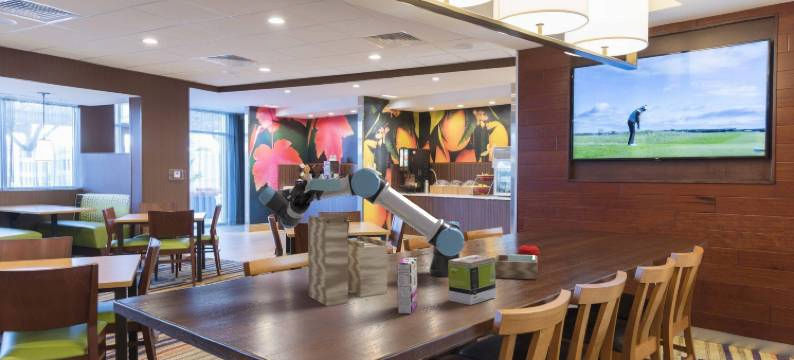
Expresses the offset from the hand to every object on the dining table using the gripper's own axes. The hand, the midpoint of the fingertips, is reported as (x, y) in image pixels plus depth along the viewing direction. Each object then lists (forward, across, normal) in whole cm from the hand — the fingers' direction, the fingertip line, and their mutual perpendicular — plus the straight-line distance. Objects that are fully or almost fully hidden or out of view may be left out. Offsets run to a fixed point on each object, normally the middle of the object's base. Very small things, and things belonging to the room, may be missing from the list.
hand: (316, 177), depth 199 cm
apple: (-22, -106, -38) cm, 115 cm away
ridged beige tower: (-21, -17, -38) cm, 47 cm away
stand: (-14, 0, -42) cm, 45 cm away
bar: (0, 0, -6) cm, 6 cm away
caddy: (-13, -88, -43) cm, 99 cm away
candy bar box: (+9, -17, -56) cm, 59 cm away
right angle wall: (-13, -91, -43) cm, 102 cm away
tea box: (+9, -44, -56) cm, 72 cm away
